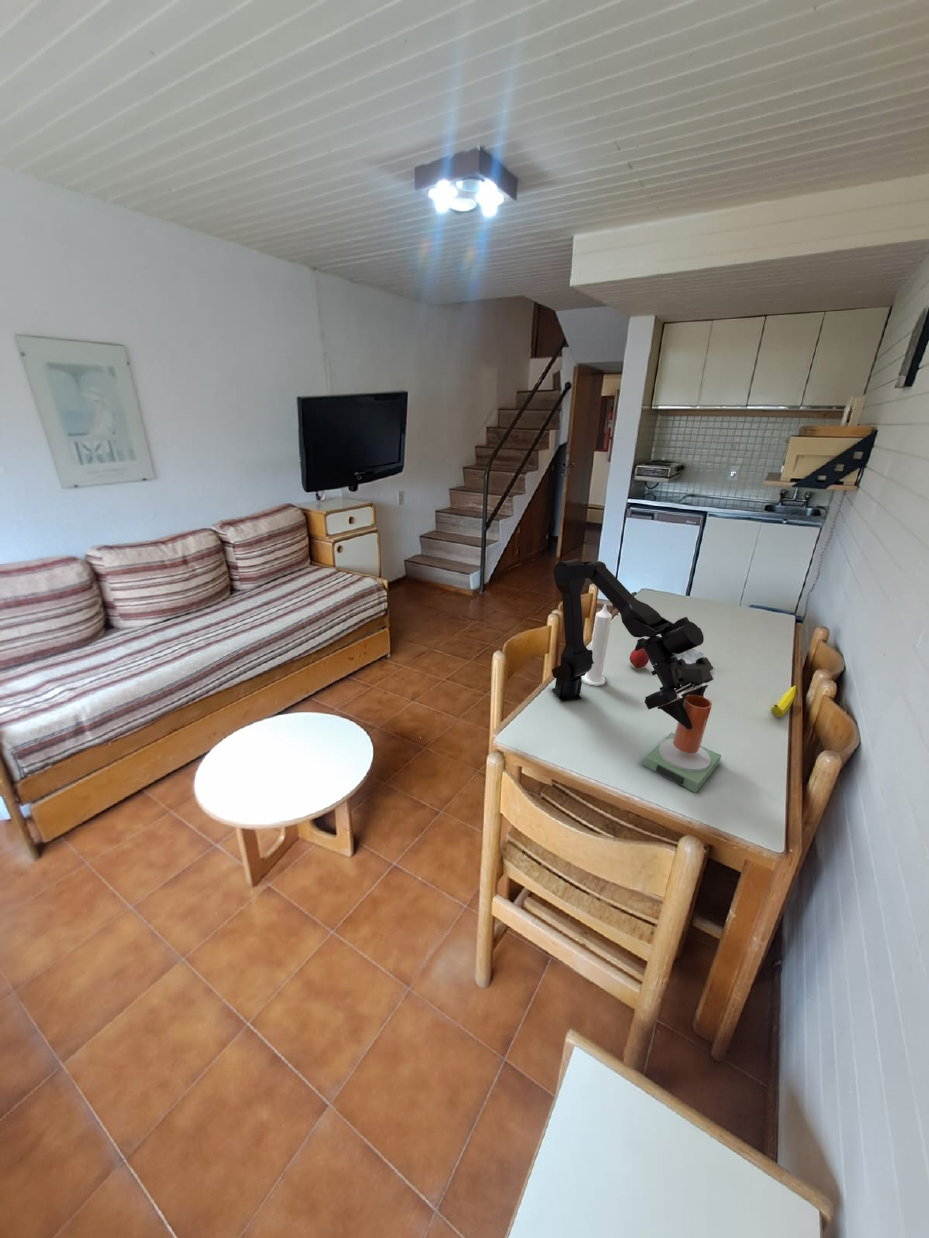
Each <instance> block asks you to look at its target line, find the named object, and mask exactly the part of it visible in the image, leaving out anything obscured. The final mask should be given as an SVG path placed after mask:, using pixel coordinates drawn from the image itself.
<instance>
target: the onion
mask: <svg viewBox="0 0 929 1238" xmlns="http://www.w3.org/2000/svg"><path fill="white" fill-rule="evenodd" d="M629 661H630V664H631V665H633V667H634V668H635V669H637V670H638V669H641V668H644V667H645V666H647V665H648V664H649V662H650V661H649V659H648V657H647V655H646V653H645V651H644V649H641V650H638V651H635V649H633V650H632V651H631V652H630V655H629Z"/></svg>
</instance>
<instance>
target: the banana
mask: <svg viewBox="0 0 929 1238" xmlns="http://www.w3.org/2000/svg"><path fill="white" fill-rule="evenodd" d="M796 690H797V686H796V685H793V686H791V687H790V688H789V689H788V690H787V691H786V692H785V693H784V694H783V695H782V696H781V698H780V699H779V700H778V702H777V703H776V704H774V705H772V706H771V707H770V713H771V714H772V715H773V716H774V717H777V718H781V717H783V716H784V715H785V714H786V713H787V711H788V710H789V709H790V707H791V706H792V704H793V701H794V699H795V696H796Z"/></svg>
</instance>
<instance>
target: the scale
mask: <svg viewBox="0 0 929 1238" xmlns="http://www.w3.org/2000/svg"><path fill="white" fill-rule="evenodd" d="M674 735H675V732H672V731H671V732H670V733H669V734H668V735H667V736H666V737H665V738H664V739H663V740H662V741H661V742H660V743H658V745H657V746H656V747H654V748H653V749H652V750H651V751H650V752H649V753H648V754H647V755H646V756H645V759H644V763H643V766H644V767H646V768H648V769H649V770H651V771H654V772H655V773H657V774H659V775H661V776H663V777H665V778H667V779H669V780H670V781H673V782H674V783H676V784H678V785H681V786H682V787H684V788H685V789H688V790H690V791H691V792H693V793H697V792H698V791H699V789H701V787H702V786H703V785H704V784H705V782H706V781H707V780H708V778H709V777H710V775H712V773H713V772H714V771H715V770H716V768H717V767H718V766H719V765H720V762H721V758H722V754H720V753H718V752H715V751H714V750H711V749H708V748H707V747H705V746H702V745H700V748H699V751H698V752H696V753H686V752H683V751H681V750H679V749H677V748H676V747H675V746H674V744H673V740H674Z"/></svg>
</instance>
